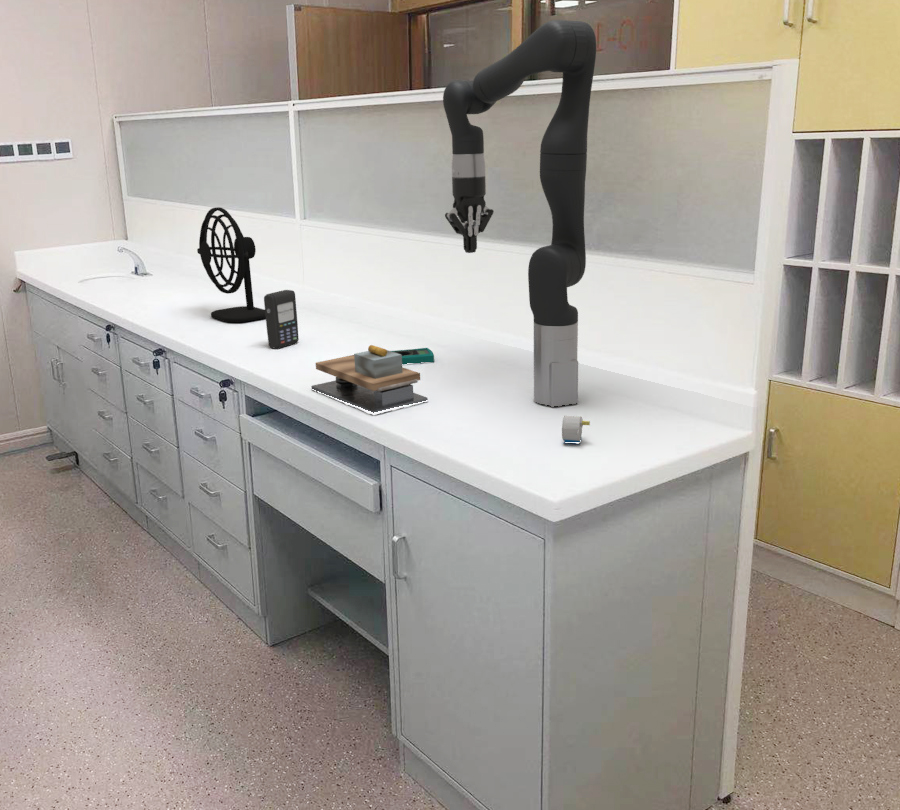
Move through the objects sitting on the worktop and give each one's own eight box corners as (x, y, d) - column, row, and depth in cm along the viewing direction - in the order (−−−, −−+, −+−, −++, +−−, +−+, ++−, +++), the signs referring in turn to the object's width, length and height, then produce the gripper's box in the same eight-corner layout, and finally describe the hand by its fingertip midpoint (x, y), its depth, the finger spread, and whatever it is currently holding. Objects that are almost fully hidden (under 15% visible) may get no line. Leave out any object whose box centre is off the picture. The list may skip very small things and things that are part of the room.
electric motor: (586, 449, 162) (587, 423, 161) (560, 447, 164) (560, 421, 162) (591, 436, 169) (591, 411, 167) (566, 435, 170) (566, 410, 169)
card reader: (277, 350, 243) (272, 295, 238) (267, 348, 245) (261, 294, 240) (300, 342, 250) (296, 290, 245) (290, 341, 252) (285, 288, 247)
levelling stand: (427, 402, 193) (426, 381, 192) (373, 416, 185) (372, 394, 184) (363, 378, 213) (362, 359, 211) (311, 390, 205) (310, 370, 203)
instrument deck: (421, 382, 191) (420, 348, 189) (374, 393, 185) (372, 358, 182) (360, 361, 210) (358, 330, 208) (316, 370, 203) (313, 338, 201)
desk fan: (194, 315, 291) (181, 206, 281) (243, 307, 302) (232, 202, 291) (232, 328, 271) (219, 211, 261) (282, 319, 282) (272, 206, 271)
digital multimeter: (373, 361, 229) (372, 350, 228) (430, 357, 232) (429, 346, 231) (376, 369, 222) (376, 357, 222) (435, 364, 225) (434, 352, 224)
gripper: (455, 177, 193) (458, 257, 198) (501, 173, 201) (502, 250, 206) (435, 176, 199) (437, 254, 204) (480, 172, 207) (482, 247, 212)
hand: (470, 252), depth 205 cm, fingers closed
